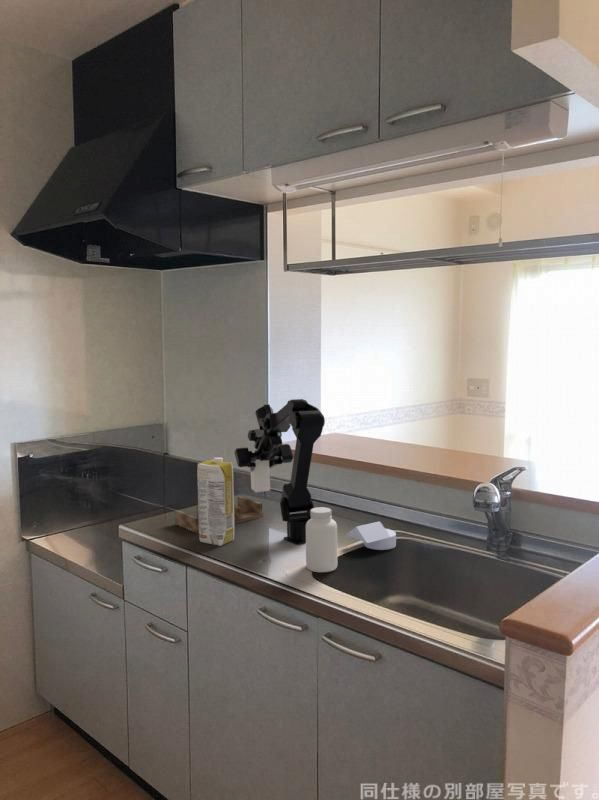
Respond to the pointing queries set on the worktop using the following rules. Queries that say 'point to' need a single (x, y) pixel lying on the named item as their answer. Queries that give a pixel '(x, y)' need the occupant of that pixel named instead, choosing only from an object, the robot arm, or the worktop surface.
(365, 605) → the worktop surface
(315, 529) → the pill bottle
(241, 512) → the comb rack
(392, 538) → the wedge on round base
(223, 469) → the juice carton
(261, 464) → the grey piece
